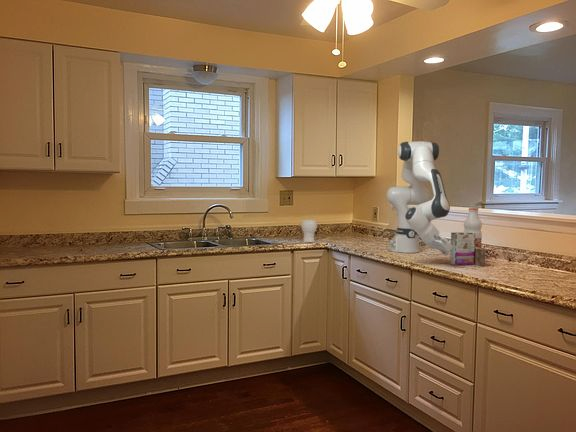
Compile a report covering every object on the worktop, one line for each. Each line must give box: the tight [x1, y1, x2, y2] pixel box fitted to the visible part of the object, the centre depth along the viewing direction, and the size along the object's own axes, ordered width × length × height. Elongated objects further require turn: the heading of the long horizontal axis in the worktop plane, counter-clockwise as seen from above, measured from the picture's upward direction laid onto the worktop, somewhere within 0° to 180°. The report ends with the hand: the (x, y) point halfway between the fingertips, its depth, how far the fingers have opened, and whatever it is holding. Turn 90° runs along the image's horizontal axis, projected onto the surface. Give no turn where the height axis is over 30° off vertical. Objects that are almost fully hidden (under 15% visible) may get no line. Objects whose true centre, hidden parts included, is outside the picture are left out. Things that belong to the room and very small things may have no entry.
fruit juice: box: [463, 207, 483, 248], centre depth 264 cm, size 9×9×28 cm
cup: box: [300, 219, 318, 243], centre depth 331 cm, size 11×11×15 cm
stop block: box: [474, 246, 486, 268], centre depth 250 cm, size 18×2×9 cm, turn 13°
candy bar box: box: [450, 231, 476, 266], centre depth 247 cm, size 11×5×16 cm, turn 103°
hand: (446, 253), depth 245 cm, fingers closed
